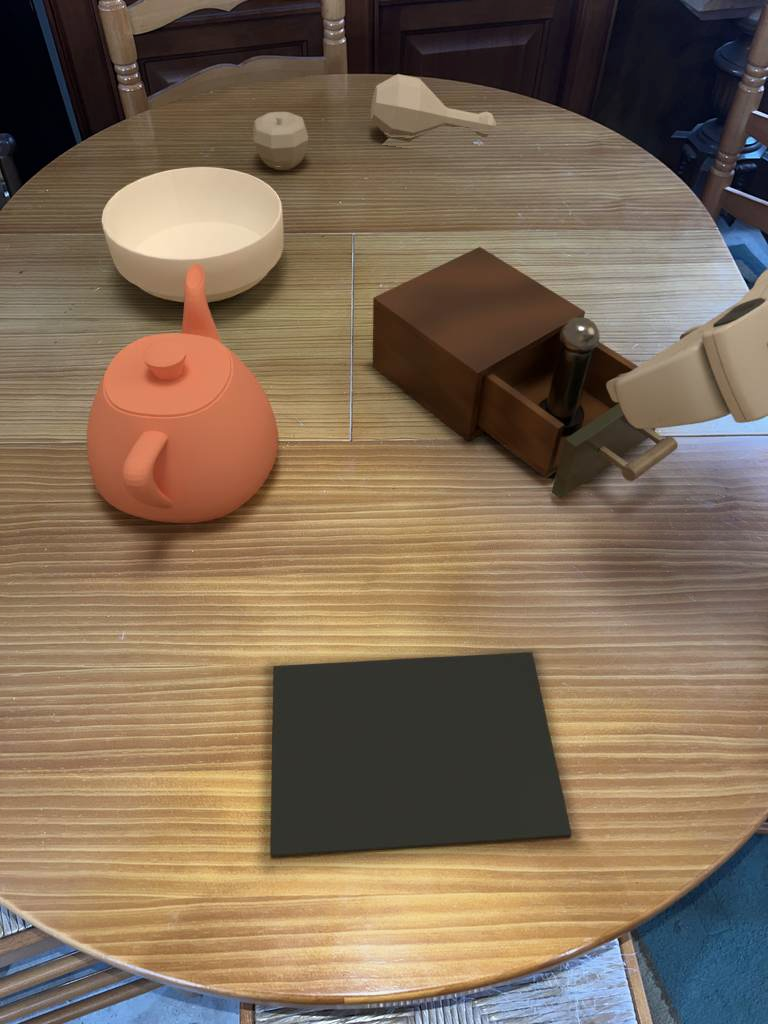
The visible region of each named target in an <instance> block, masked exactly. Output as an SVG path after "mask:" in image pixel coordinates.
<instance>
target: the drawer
mask: <svg viewBox="0 0 768 1024" xmlns="http://www.w3.org/2000/svg"><path fill="white" fill-rule="evenodd" d="M559 347H560V332H559V333H557V334H555V335H554V336H552V337H550V338H548V339H547V340H545V341H543V342H541V343H540V344H538V345H536V346H534V347H533V348H531V349H529V350H528V351H526V352H524V353H522V354H521V355H519V356H517V357H515V358H514V359H512V360H510V361H508V362H507V363H505V364H503V365H501V366H500V367H498V368H496V369H495V370H493V371H491V372H489V373H488V374H486V375H484V376H483V379H482V386H481V393H480V400H479V407H478V414H477V421H476V425H478V426H479V427H480V428H481V429H483V430H484V431H485V432H484V433H486V434H488V435H489V436H491V438H493V440H494V439H495V440H496V441H497V442H499V444H501V445H503V446H504V447H505V448H506V449H507V450H508V451H510V452H511V453H512V454H513V455H515V456H516V457H518V458H519V459H521V460H522V462H524V463H526V464H527V465H528V466H529V467H531V468H532V469H534V470H535V471H536V472H537V473H539V474H540V475H541V476H543V477H544V478H545V479H547V478H548V477H550V476H551V475H553V474H555V477H554V481H553V484H552V488H551V491H550V492H551V494H552V495H553V496H555V497H556V498H557V499H559V500H560V501H561V500H563V499H565V498H566V497H567V496H569V495H570V494H571V493H573V492H575V491H576V490H577V489H578V488H580V487H582V486H583V485H584V484H586V483H587V482H588V481H590V480H591V479H593V478H594V477H595V476H597V475H598V474H600V473H601V472H603V471H604V470H605V469H607V468H608V467H609V466H611V465H614V466H615V467H617V468H619V470H621V474H622V476H623V478H624V479H625V480H627V482H628V481H629V482H633V481H635V480H637V479H638V478H639V477H641V476H642V475H644V474H645V473H646V472H648V471H649V470H650V469H652V468H653V467H654V466H656V465H657V464H658V463H660V462H661V461H662V460H664V459H665V458H666V457H668V456H669V455H671V454H672V453H673V452H675V451H676V450H677V449H678V446H679V445H678V442H677V440H676V439H675V438H674V437H672V436H669V435H668V436H665V437H664V436H663V435H660V434H659V433H658V432H656V429H657V428H652V429H638V428H635V427H633V426H632V425H631V424H630V423H629V422H628V421H627V419H626V417H625V415H624V413H623V411H622V409H621V407H620V404H619V402H614V401H613V400H612V399H611V397H610V394H609V392H608V390H607V387H606V383H607V382H608V381H610V380H612V379H613V378H615V377H616V376H618V375H620V374H624V373H627V372H631V371H632V370H634V369H635V368H637V367H638V366H639V365H637V364H635V363H633V361H631V360H629V359H627V358H625V357H624V356H622V355H621V354H619V353H618V352H616V351H615V350H613V349H612V348H610V347H608V346H607V345H605V344H604V343H602V342H600V341H599V343H598V346H597V347H596V349H595V350H594V353H593V357H592V360H591V364H590V368H589V372H588V375H587V379H586V383H585V386H584V390H583V394H582V398H581V401H580V405H581V406H582V408H583V410H584V419H583V423H582V426H581V428H580V429H579V430H578V431H576V432H575V433H573V434H572V435H568V436H562V432H563V428H564V424H563V423H561V422H560V421H559V420H557V419H556V418H554V417H553V416H552V415H550V414H549V413H547V412H546V411H545V410H543V409H542V408H540V407H539V404H540V403H541V401H543V400H544V399H546V398H548V395H549V391H550V386H551V382H552V377H553V373H554V369H555V364H556V360H557V355H558V351H559ZM646 440H650V441H651V442H653V443H655V444H654V445H653V446H651V447H649V449H648V450H646V451H645V452H643V453H642V454H640V455H639V456H637V457H636V458H635V459H633V460H632V461H630V462H628V461H626V460H625V459H624V458H623V457H624V456H625V455H627V454H628V453H629V452H632V451H633V450H634V449H635V448H636V447H638V446H639V445H641V444H642V443H643V442H645V441H646Z"/></svg>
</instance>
